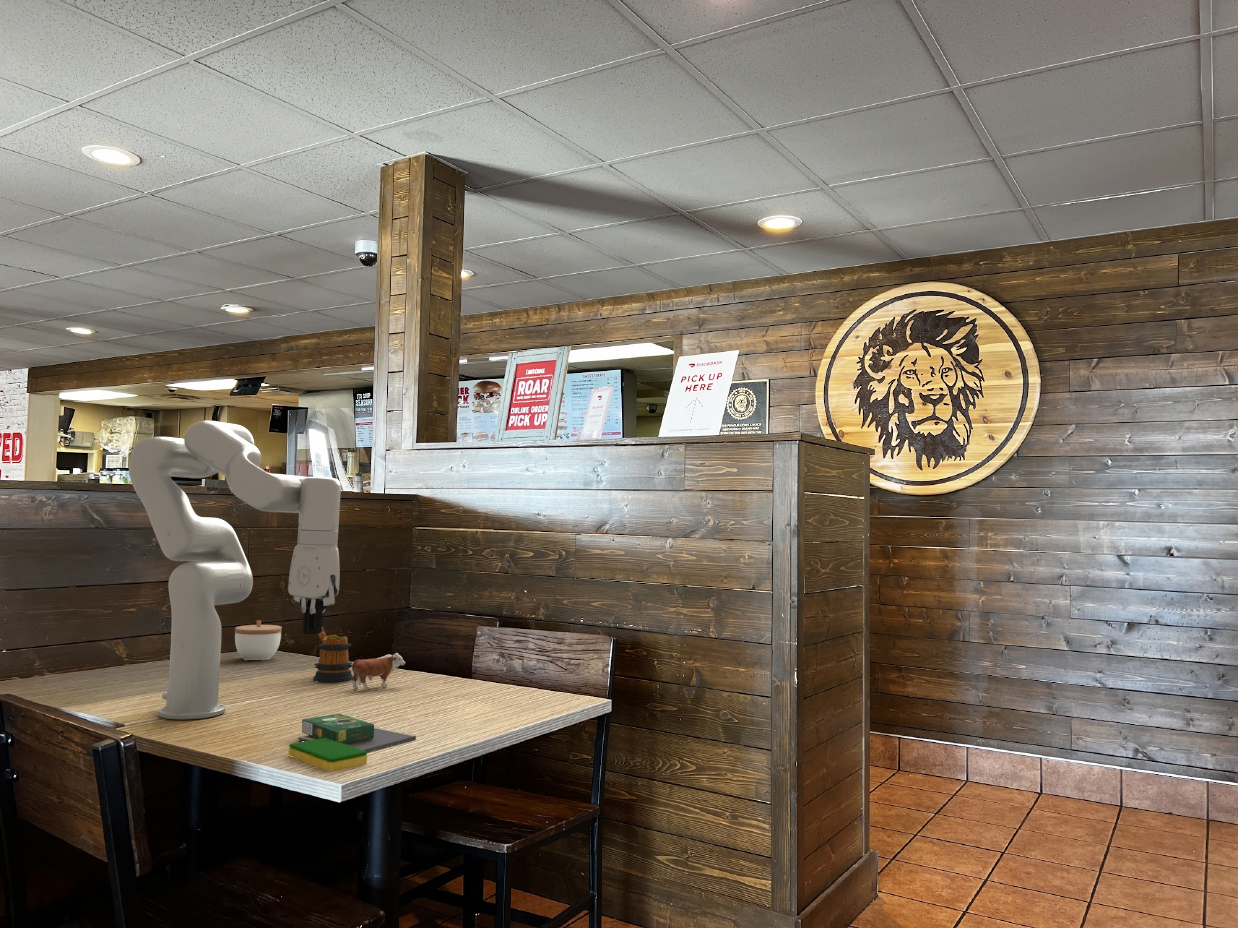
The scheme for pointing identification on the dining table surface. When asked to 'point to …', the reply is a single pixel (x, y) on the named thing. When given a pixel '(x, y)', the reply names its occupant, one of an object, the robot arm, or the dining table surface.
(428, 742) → the dining table surface
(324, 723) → the coffee box
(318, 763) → the dish sponge
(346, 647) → the mug
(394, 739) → the mat
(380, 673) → the bull figurine
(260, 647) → the lidded bowl
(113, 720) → the dining table surface
